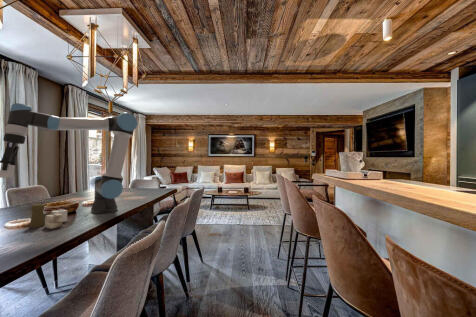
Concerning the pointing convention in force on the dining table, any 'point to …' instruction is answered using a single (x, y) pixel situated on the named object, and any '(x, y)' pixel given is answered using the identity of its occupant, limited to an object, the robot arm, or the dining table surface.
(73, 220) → the dining table surface
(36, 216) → the olive green tall block
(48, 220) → the birch block numbered 1
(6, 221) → the dining table surface
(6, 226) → the dining table surface
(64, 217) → the cream block numbered 7
